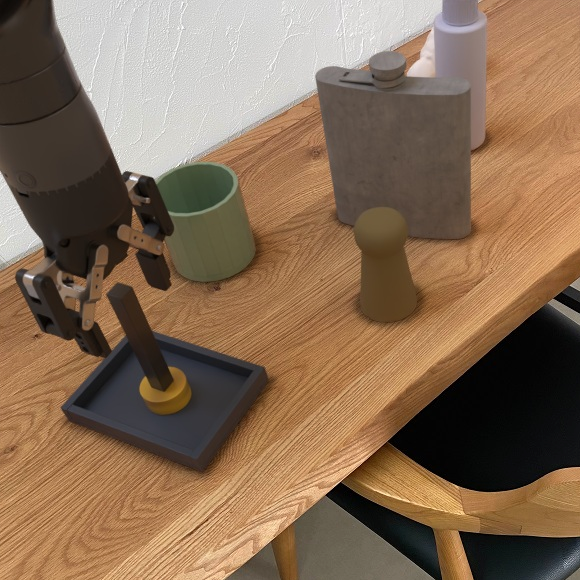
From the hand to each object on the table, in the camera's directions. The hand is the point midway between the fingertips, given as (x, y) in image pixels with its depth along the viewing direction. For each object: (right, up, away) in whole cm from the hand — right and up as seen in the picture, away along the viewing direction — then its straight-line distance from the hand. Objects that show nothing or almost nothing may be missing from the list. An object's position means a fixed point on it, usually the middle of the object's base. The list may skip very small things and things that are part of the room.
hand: (131, 318), depth 68 cm
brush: (+1, -7, +8) cm, 11 cm away
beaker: (+2, +10, +22) cm, 24 cm away
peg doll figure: (+22, +3, +15) cm, 27 cm away
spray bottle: (+31, +26, +33) cm, 52 cm away
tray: (+1, -7, +9) cm, 11 cm away
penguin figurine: (+29, +37, +42) cm, 63 cm away
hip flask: (+23, +13, +23) cm, 35 cm away
